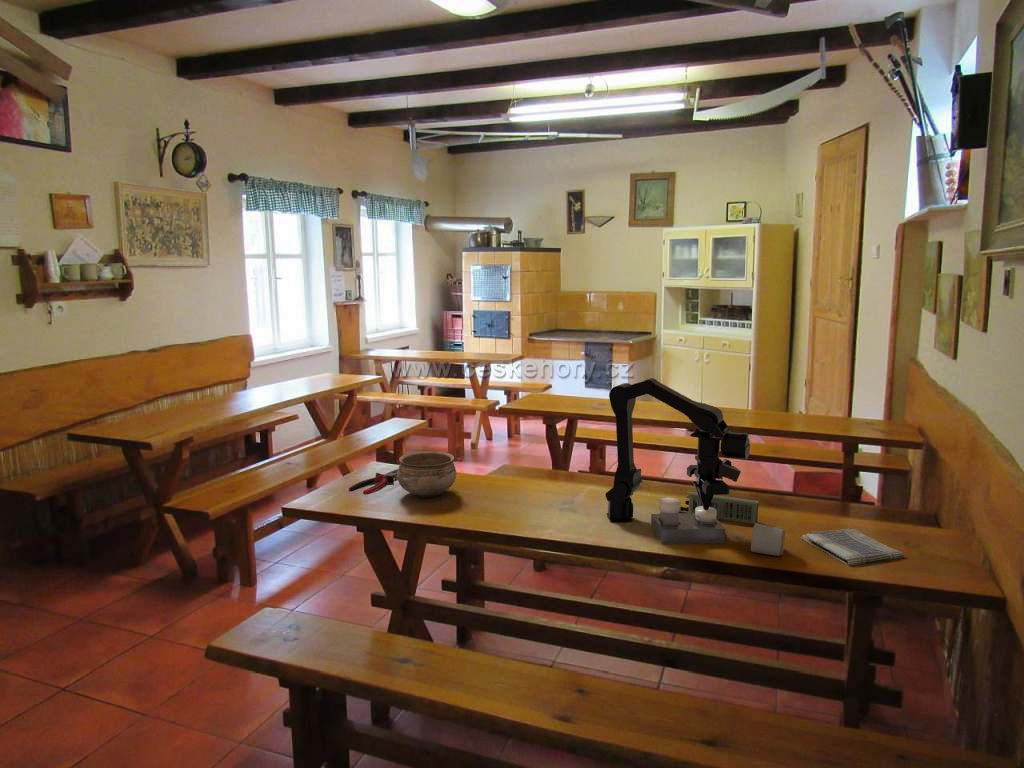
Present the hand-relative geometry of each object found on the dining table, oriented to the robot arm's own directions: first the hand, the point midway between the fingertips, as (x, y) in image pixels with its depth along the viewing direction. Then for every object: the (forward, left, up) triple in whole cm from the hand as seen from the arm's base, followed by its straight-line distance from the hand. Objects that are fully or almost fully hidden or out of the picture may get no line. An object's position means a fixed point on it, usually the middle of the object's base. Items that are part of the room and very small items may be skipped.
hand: (705, 509), depth 189 cm
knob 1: (-10, 0, -4) cm, 11 cm away
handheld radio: (+7, +14, -8) cm, 17 cm away
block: (+12, -12, -8) cm, 19 cm away
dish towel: (+35, -11, -8) cm, 37 cm away
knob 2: (0, 0, -6) cm, 6 cm away
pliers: (-96, +50, -8) cm, 109 cm away
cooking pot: (-79, +37, -7) cm, 88 cm away
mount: (-5, 0, -7) cm, 9 cm away
